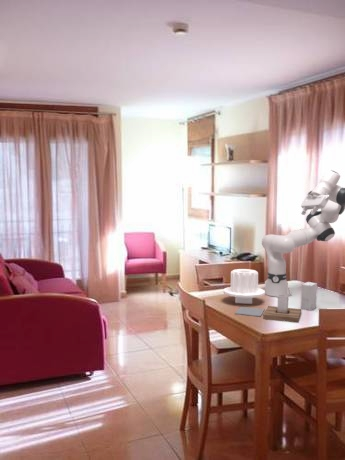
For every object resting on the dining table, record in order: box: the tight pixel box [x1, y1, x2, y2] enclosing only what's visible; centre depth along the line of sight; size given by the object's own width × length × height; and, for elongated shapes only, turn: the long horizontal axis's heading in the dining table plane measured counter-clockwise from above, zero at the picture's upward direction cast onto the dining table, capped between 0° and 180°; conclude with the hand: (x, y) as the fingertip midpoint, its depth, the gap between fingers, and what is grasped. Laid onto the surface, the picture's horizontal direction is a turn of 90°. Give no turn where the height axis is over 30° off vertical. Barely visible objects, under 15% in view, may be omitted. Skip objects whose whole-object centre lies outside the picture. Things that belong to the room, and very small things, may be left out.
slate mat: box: [234, 306, 266, 318], centre depth 244 cm, size 14×14×1 cm
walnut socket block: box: [262, 305, 302, 324], centre depth 236 cm, size 18×18×2 cm
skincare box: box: [300, 281, 318, 312], centre depth 251 cm, size 8×6×15 cm
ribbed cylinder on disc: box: [223, 268, 266, 305], centre depth 266 cm, size 25×25×19 cm
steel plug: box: [277, 295, 289, 314], centre depth 236 cm, size 5×5×11 cm
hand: (306, 214), depth 246 cm, fingers open, 8 cm apart
